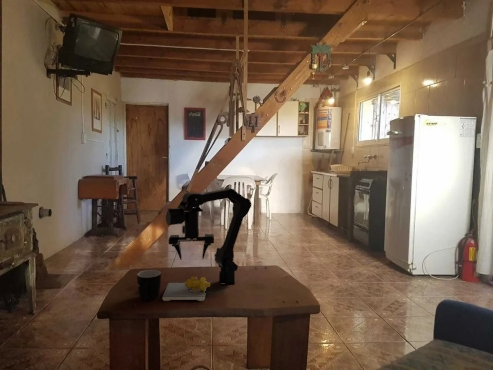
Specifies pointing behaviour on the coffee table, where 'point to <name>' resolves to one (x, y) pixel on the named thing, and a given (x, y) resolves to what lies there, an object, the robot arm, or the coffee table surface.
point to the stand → (181, 293)
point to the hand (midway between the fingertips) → (192, 259)
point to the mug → (149, 284)
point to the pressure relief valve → (197, 284)
